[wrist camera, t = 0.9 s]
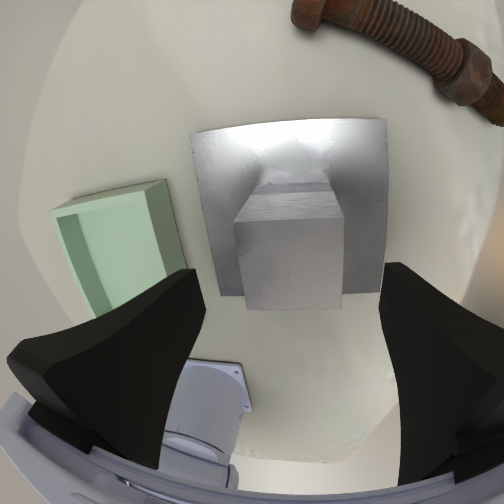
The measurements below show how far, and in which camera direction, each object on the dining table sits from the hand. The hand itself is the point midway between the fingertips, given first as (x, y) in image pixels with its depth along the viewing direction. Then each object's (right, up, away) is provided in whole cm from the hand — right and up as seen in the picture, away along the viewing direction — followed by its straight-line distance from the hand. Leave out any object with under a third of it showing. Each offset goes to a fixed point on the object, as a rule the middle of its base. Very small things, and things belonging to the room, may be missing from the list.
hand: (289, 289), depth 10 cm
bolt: (+9, +14, +2) cm, 17 cm away
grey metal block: (+1, +4, +7) cm, 8 cm away
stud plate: (+2, +4, +8) cm, 9 cm away
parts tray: (-12, +1, +12) cm, 17 cm away
